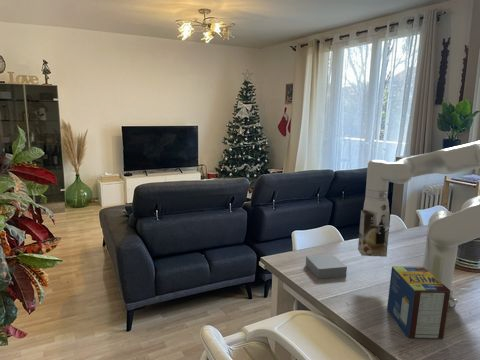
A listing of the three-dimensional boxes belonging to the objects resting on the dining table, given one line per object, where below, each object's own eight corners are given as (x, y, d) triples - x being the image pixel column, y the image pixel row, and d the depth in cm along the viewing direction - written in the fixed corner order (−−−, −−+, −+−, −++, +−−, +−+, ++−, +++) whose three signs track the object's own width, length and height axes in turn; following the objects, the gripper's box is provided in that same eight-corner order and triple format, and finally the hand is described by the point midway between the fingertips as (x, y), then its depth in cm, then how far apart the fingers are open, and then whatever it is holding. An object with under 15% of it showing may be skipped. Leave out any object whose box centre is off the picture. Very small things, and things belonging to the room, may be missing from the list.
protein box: (417, 309, 116) (423, 266, 113) (443, 339, 101) (451, 290, 97) (385, 308, 116) (391, 265, 113) (407, 338, 101) (414, 289, 97)
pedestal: (346, 276, 138) (346, 266, 137) (317, 278, 135) (318, 269, 134) (331, 263, 149) (332, 254, 148) (305, 265, 146) (306, 256, 146)
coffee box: (361, 256, 129) (364, 214, 126) (357, 249, 135) (360, 209, 132) (387, 257, 128) (390, 215, 125) (382, 250, 134) (385, 210, 131)
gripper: (401, 199, 119) (396, 247, 123) (371, 188, 136) (368, 231, 140) (381, 200, 118) (378, 249, 121) (354, 189, 135) (351, 232, 138)
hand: (373, 239), depth 130 cm, fingers closed on coffee box, 7 cm apart
